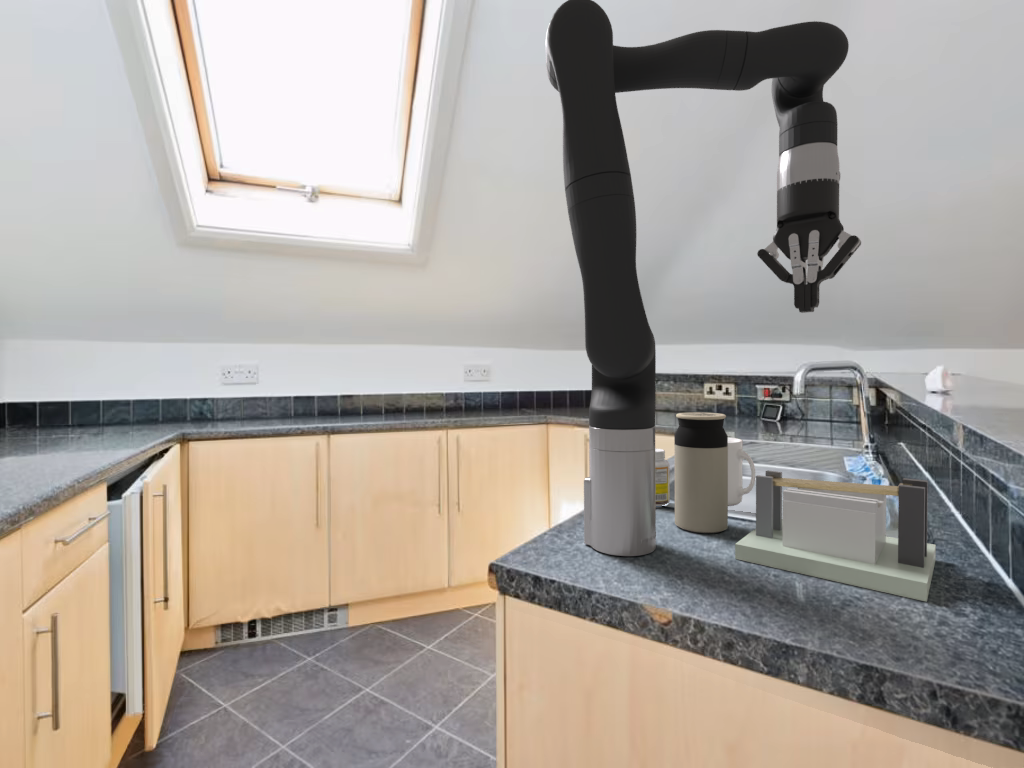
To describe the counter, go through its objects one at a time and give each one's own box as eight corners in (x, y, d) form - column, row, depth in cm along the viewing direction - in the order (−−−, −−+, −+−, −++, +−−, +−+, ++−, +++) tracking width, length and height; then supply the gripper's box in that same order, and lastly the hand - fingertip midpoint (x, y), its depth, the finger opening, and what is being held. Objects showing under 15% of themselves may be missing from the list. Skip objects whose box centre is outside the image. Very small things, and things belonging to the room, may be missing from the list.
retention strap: (761, 486, 73) (761, 477, 73) (768, 483, 76) (767, 474, 76) (910, 499, 62) (909, 488, 62) (912, 494, 65) (912, 484, 65)
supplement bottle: (646, 499, 102) (646, 446, 101) (674, 503, 98) (674, 449, 98) (633, 505, 97) (633, 450, 97) (662, 510, 94) (661, 453, 94)
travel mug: (713, 538, 78) (713, 417, 78) (665, 526, 84) (664, 414, 83) (736, 526, 84) (736, 413, 83) (689, 516, 89) (689, 411, 89)
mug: (696, 492, 107) (696, 435, 106) (761, 500, 100) (761, 439, 100) (683, 502, 99) (683, 441, 98) (752, 511, 92) (752, 445, 92)
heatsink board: (735, 558, 70) (735, 475, 69) (770, 530, 82) (770, 458, 81) (926, 601, 56) (928, 498, 56) (935, 559, 68) (936, 474, 68)
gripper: (748, 190, 74) (748, 313, 75) (859, 165, 65) (858, 305, 66) (764, 202, 80) (764, 317, 80) (868, 181, 71) (867, 310, 71)
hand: (806, 311), depth 73 cm, fingers closed
